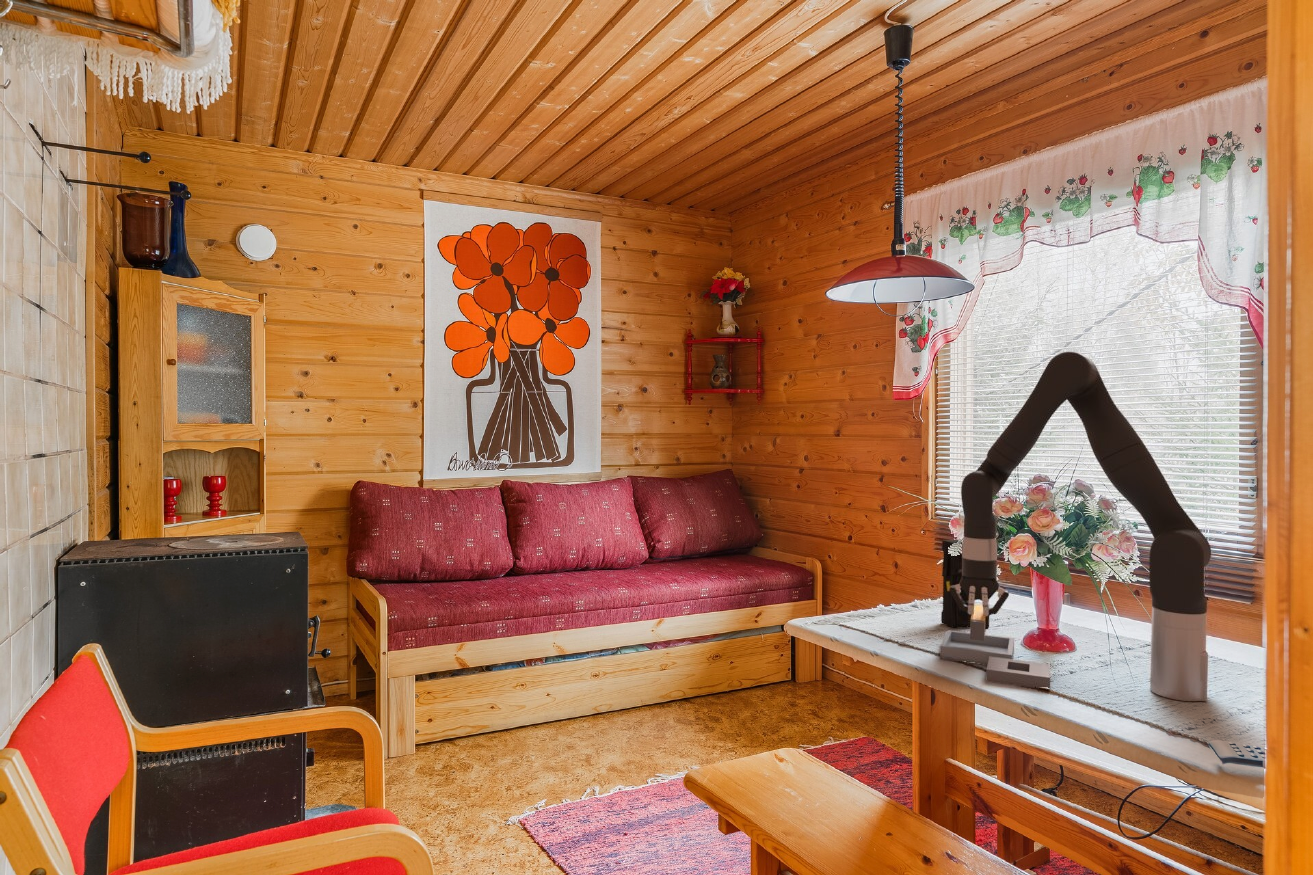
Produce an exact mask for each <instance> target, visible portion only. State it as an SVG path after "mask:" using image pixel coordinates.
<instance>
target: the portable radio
mask: <svg viewBox="0 0 1313 875" xmlns="http://www.w3.org/2000/svg"><path fill="white" fill-rule="evenodd" d="M958 540H959V539H945V540H944V539H943V540H942V542H941V550H942V552H943V555H942V556H943V558H942V571H941V576H942V578H943V579H942V610H941V613H940V615H941V617H940V618H941V620H940V621H941V623H942V624H943V625H945V626H946V627H950V628H951V629H961V628H962V629H963V628H969V626H968V613H967V612H965V611H961V610H960V608H959V607H958V605H957V603H956V601H955V600H954V598H953V596H952V594H951V592H950V591H949V589H950V587H951V586H952V585H957V584H959V583H960V580H961V578H962V554H960V555H957V556H951V554H948V547H950V545H952V544H953V543H957V542H958ZM960 590H961V592H960V596H961V598H962V599H963V601H964V603H965V605H967V606H968V602H969V597H968V596H967V595H966V593H965V592H964V591H963V589H962V588H960Z"/></svg>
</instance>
